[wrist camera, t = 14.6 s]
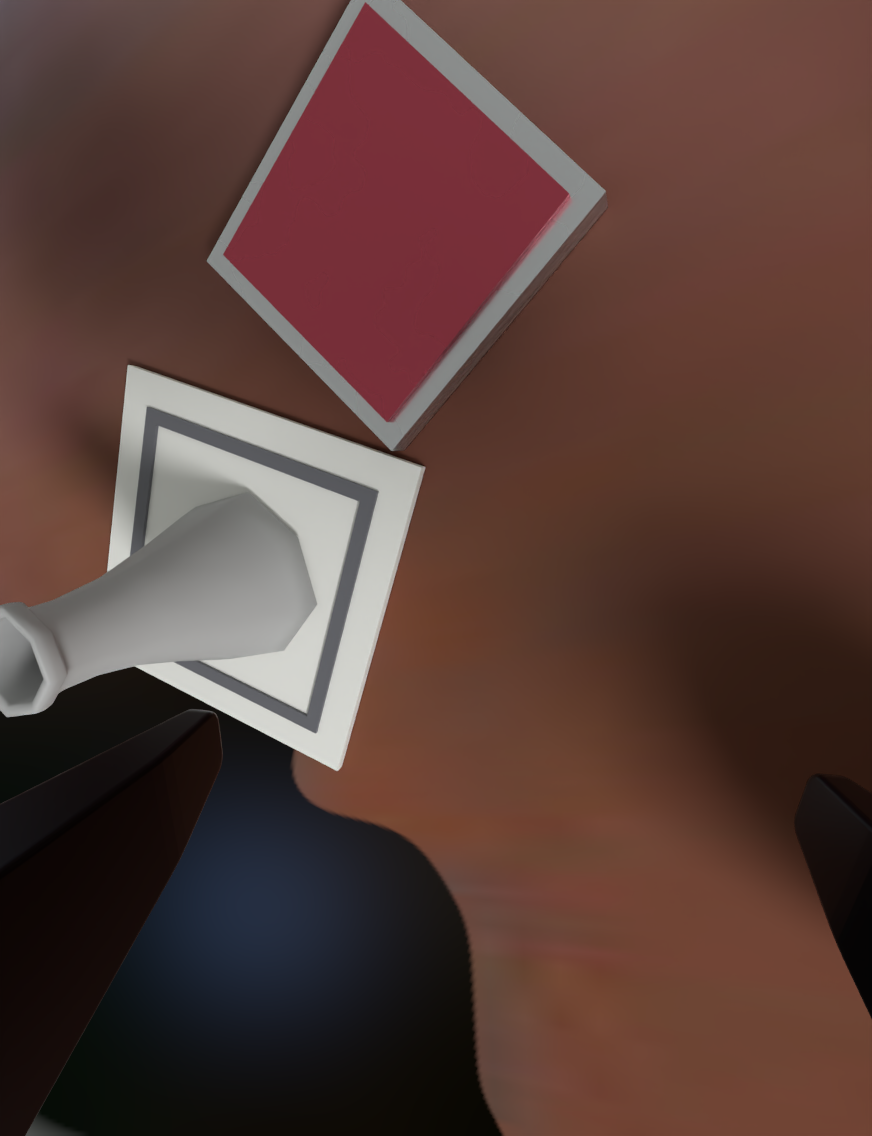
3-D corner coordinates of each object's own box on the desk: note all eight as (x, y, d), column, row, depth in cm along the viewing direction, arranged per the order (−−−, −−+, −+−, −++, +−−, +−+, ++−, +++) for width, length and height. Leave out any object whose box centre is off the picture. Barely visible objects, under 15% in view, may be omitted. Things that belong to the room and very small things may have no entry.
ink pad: (607, 207, 17) (605, 187, 16) (404, 450, 21) (388, 451, 19) (384, -2, 18) (363, -39, 16) (228, 269, 22) (200, 258, 20)
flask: (234, 681, 26) (9, 817, 16) (151, 546, 26) (-122, 608, 16) (348, 611, 23) (153, 729, 14) (255, 460, 23) (-5, 476, 13)
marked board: (425, 467, 21) (420, 467, 20) (341, 766, 25) (335, 772, 25) (135, 365, 24) (125, 364, 24) (106, 645, 28) (96, 649, 28)
